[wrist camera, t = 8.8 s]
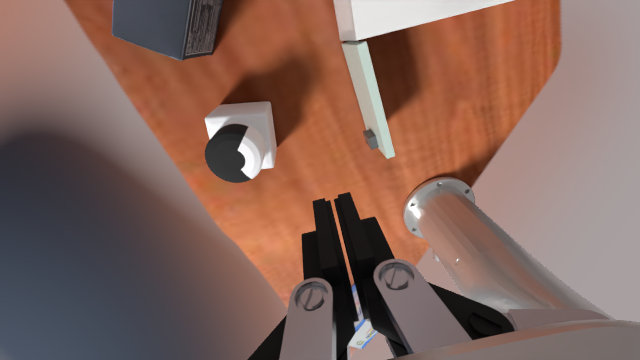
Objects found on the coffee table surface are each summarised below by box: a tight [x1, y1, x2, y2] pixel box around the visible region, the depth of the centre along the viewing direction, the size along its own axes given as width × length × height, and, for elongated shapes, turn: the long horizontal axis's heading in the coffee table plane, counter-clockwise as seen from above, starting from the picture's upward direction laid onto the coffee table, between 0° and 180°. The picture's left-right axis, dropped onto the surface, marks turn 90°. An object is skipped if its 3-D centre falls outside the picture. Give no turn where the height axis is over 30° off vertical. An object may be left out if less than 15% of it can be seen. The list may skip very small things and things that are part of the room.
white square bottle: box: [205, 101, 277, 183], centre depth 34 cm, size 7×7×12 cm
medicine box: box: [349, 283, 378, 349], centre depth 54 cm, size 8×4×9 cm, turn 153°
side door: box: [342, 41, 395, 159], centre depth 34 cm, size 2×13×9 cm, turn 20°
